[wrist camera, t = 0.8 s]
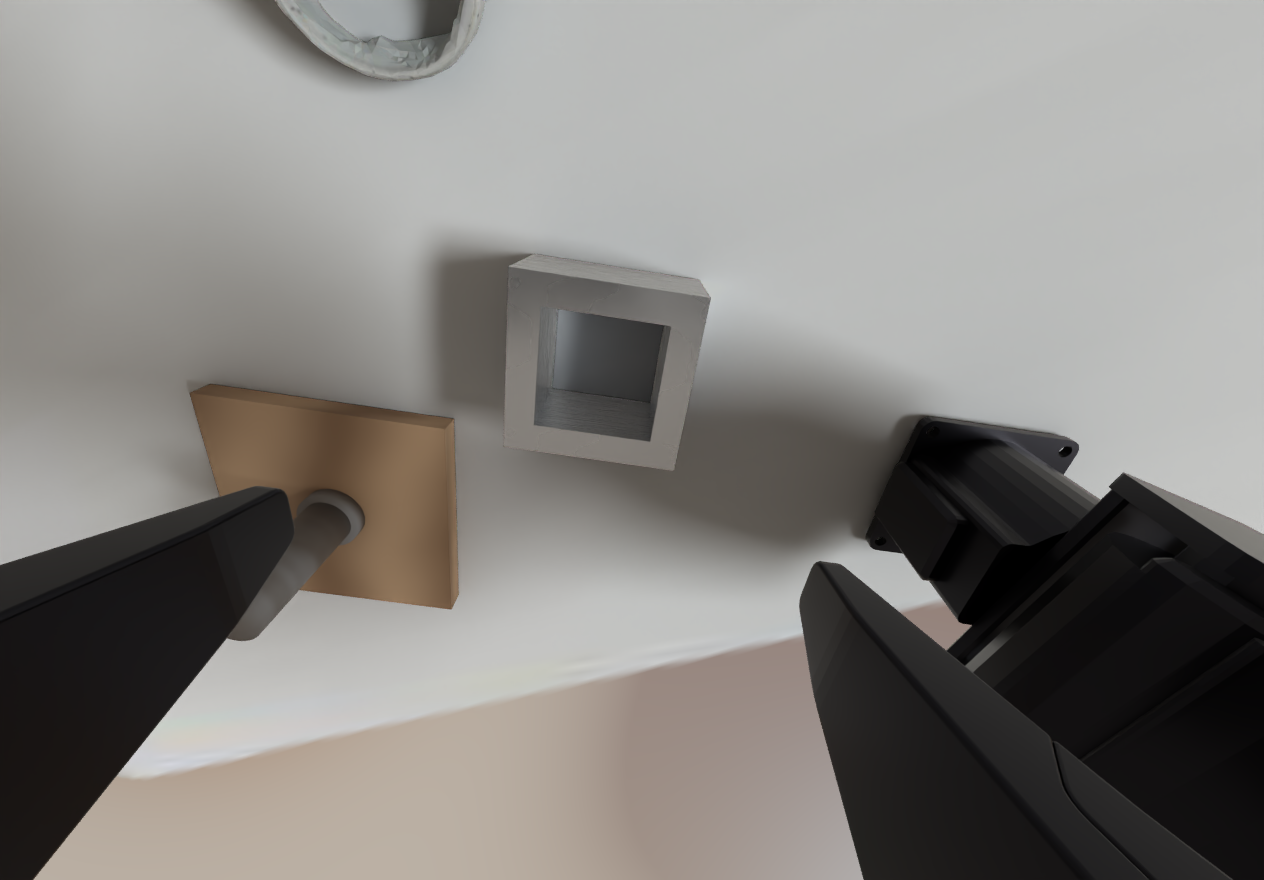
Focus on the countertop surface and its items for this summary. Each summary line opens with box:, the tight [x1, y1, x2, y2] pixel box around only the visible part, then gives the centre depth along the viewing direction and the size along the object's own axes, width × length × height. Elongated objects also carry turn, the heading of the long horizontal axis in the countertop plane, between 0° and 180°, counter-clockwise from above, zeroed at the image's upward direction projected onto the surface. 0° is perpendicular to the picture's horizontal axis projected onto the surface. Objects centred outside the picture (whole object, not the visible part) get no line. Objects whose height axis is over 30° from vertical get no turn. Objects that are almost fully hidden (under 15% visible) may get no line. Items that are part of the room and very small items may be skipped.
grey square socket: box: [504, 254, 711, 471], centre depth 17 cm, size 6×6×4 cm
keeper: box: [190, 384, 459, 641], centre depth 19 cm, size 10×10×7 cm
